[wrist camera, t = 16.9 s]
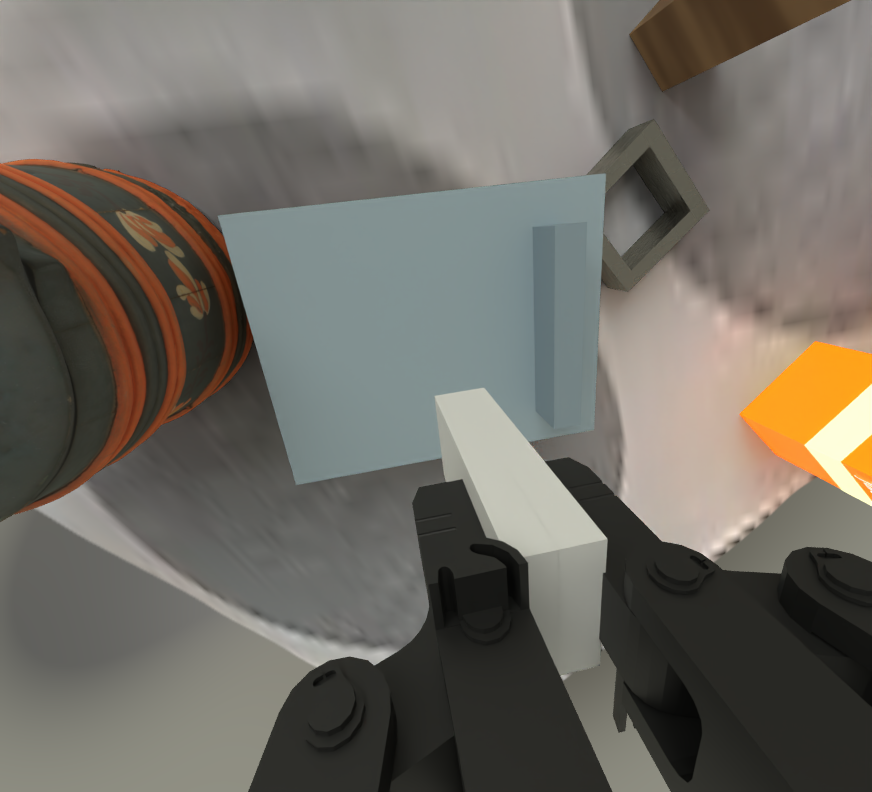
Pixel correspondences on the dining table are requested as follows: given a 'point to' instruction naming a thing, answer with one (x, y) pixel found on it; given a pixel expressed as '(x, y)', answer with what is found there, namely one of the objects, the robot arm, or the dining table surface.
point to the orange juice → (821, 416)
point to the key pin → (714, 32)
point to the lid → (422, 315)
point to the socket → (669, 189)
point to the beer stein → (103, 321)
